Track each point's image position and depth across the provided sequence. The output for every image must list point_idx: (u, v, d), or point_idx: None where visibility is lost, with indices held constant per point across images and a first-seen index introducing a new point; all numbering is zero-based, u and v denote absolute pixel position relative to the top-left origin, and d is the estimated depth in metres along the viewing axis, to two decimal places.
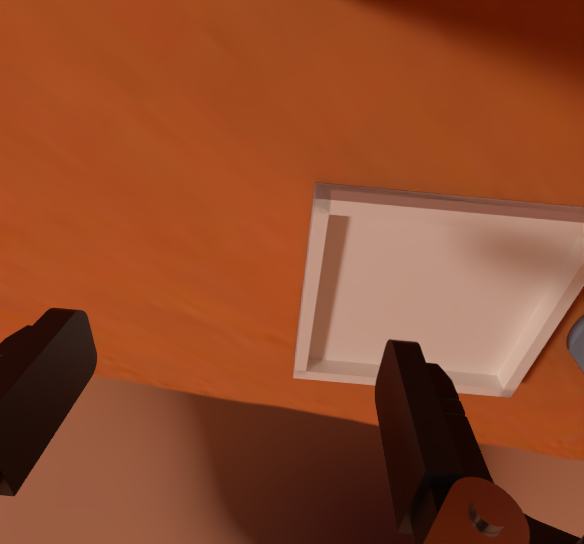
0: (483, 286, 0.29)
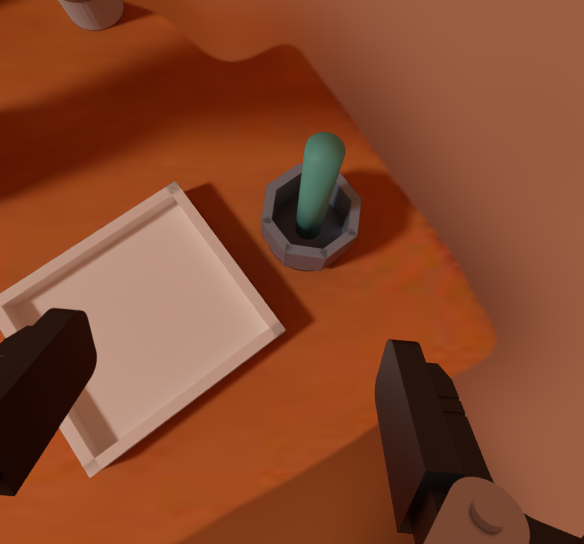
0: (166, 275, 0.35)
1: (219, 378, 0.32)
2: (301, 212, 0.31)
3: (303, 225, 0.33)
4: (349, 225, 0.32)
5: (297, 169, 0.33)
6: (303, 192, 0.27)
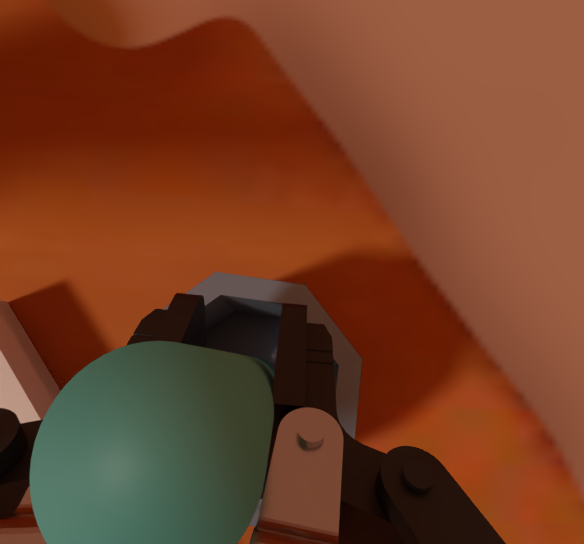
0: None
1: None
2: None
3: None
4: None
5: (212, 286, 0.14)
6: None
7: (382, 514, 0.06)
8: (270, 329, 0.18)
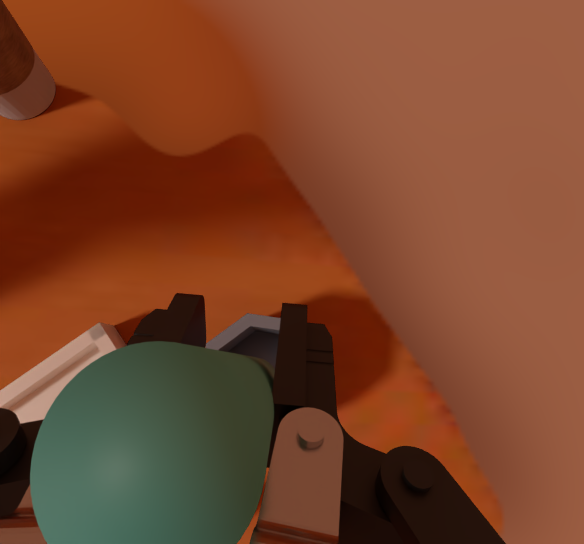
0: None
1: None
2: None
3: None
4: None
5: (245, 321, 0.26)
6: None
7: (382, 514, 0.06)
8: (276, 342, 0.30)
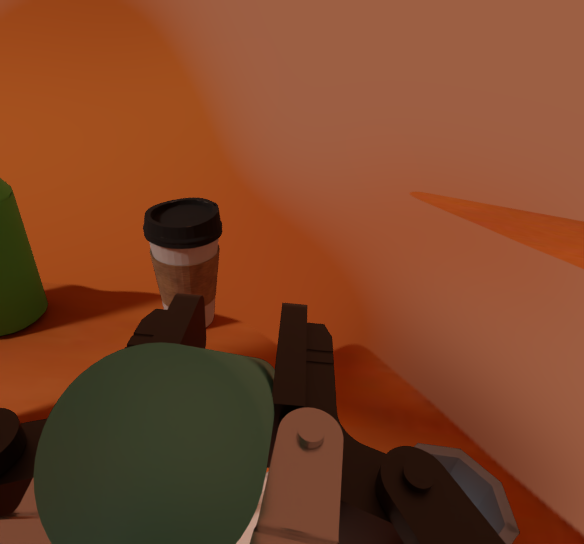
0: None
1: None
2: None
3: None
4: (503, 517, 0.26)
5: None
6: None
7: (382, 514, 0.06)
8: None
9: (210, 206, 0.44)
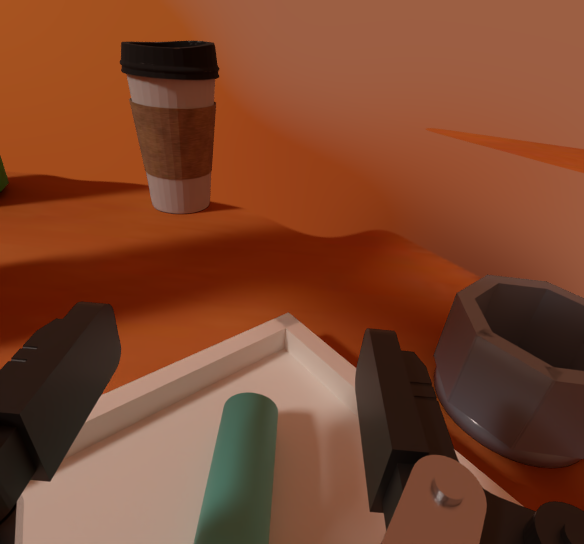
0: (277, 469, 0.16)
1: None
2: None
3: None
4: None
5: (490, 279, 0.22)
6: None
7: None
8: None
9: None
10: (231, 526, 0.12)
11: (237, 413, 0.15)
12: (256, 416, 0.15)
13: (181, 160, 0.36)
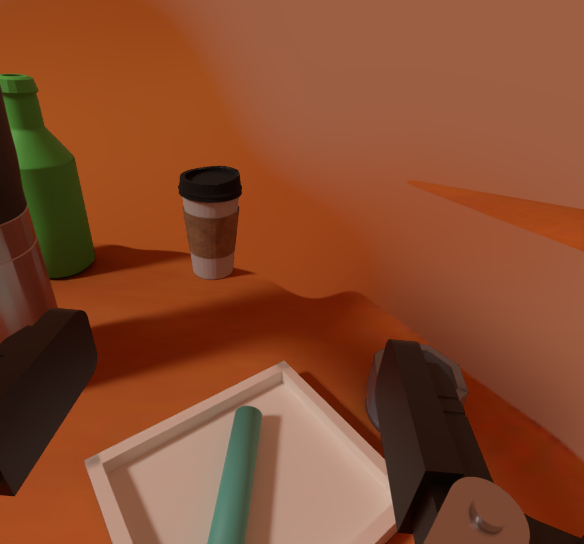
0: (276, 444, 0.33)
1: None
2: None
3: None
4: (457, 384, 0.35)
5: None
6: None
7: None
8: None
9: (232, 172, 0.53)
10: (225, 464, 0.29)
11: (233, 422, 0.33)
12: (237, 418, 0.33)
13: (216, 247, 0.53)
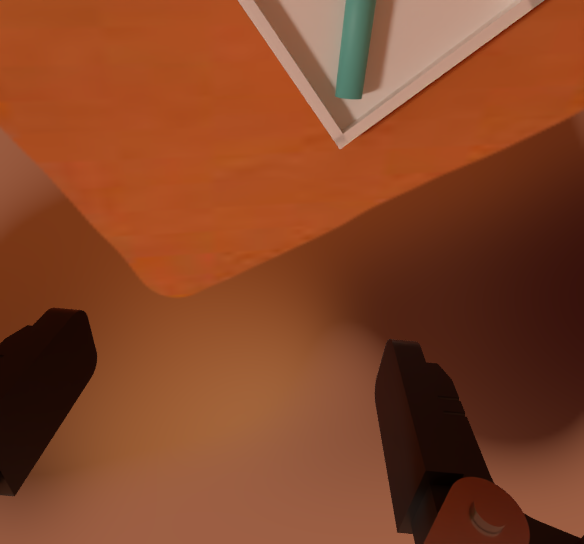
0: None
1: (462, 58, 0.32)
2: None
3: None
4: None
5: None
6: None
7: None
8: None
9: None
10: None
11: None
12: None
13: None
